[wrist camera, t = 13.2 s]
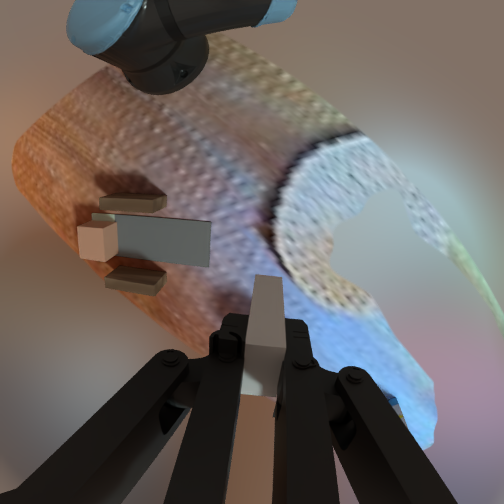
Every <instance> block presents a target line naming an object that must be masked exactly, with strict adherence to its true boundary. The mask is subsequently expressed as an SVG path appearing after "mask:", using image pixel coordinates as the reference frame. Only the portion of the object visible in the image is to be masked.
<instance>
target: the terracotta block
mask: <svg viewBox="0 0 504 504" xmlns="http://www.w3.org/2000/svg"><path fill="white" fill-rule="evenodd" d="M77 231H78V243H79V253H80V258H83V259H89V260H96V261H102V262H106V261H107V260H109V259H110V258H112V257H113V256H115V255H116V254H118V253H119V252H118V234H117V222H109V221H95V220H92V221H89V222H87V223H84V224H82V225H79V226H77Z"/></svg>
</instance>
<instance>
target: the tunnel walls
mask: <svg viewBox="0 0 504 504" xmlns="http://www.w3.org/2000/svg"><path fill="white" fill-rule="evenodd" d="M166 203H167V195H154V194H132V193H115V194H111V195H108V196H104V197H100V198H99V209H100V210H112V211H128V212H142V213H154V212H156V211H158V210H160V209H163V208H165V207H166ZM104 279H105V287H106V288H110V289H116V290H121V291H126V292H132V293H137V294H143V295H149V296H156V294H157V293H158V292H159V291H160V290H161V288H162V287H163V286H164V285H165V284H166V282H167V276H166V272H162V271H154V270H147V269H140V268H133V267H126V266H118V267H117V268H116V269H115V270H113V271H112V272H111V273H109V274H108V275H107V276H105V277H104Z"/></svg>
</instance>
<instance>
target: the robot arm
mask: <svg viewBox="0 0 504 504" xmlns="http://www.w3.org/2000/svg"><path fill="white" fill-rule="evenodd" d="M296 4H297V0H75V2H74V4H73V6H72V8H71V10H70V12H69V15H68V19H67V25H66V31H67V36H68V38H69V40H70V41H71V43H72V44H73V45H75V46H76V47H78V48H80V49H82V50H83V52H84V53H86V54H88V55H92V56H94V57H96V58H99V59H101V60H103V61H105V62H107V63H110V64H112V65H114V66H116V67H118V68H120V69H122V71H123V73H124V75H125V77H126V79H127V80H128V82H129V83H130V84H131V85H132V86H133V87H135V88H136V89H138V90H140V91H142V92H144V93H147V94H151V95H164V94H169V93H173V92H175V91H178V90H180V89H182V88H184V87H185V86H187V85H188V84H190V83H191V82H192V81H193V80H194V79H195V78H196V77H197V76H198V75H199V74H200V72H201V71H202V69H203V68H204V66H205V64H206V62H207V59H208V54H209V44H208V40H207V38H206V36H205V35H206V34H211V33H215V32H220V31H225V30H230V29H235V28H242V27H248V26H251V27H258V26H261V25H263V24H270V23H277V22H282V21H284V20H286V19H287V18H289V17H290V16H291V14H292V13H293V12H294V10H295V7H296ZM240 394H249V395H258V396H269V397H276V394H277V401H276V406H275V409H274V413H273V417H275V437H274V469H273V493H272V504H340V502H339V493H338V485H337V476H336V468H335V461H334V453H333V448H334V450H335V452H336V454H337V456H338V458H339V461H340V463H341V465H342V467H343V469H344V471H345V474H346V476H347V478H348V480H349V482H350V484H351V487H352V489H353V491H354V493H355V495H356V497H357V500H358V502H359V504H458V503H457V502H456V500H455V499H454V497H453V495H452V494H451V492H450V491H449V489H448V488H447V486H446V485H445V483H444V482H443V480H442V479H441V477H440V476H439V474H438V473H437V471H436V470H435V468H434V467H433V465H432V464H431V462H430V461H429V459H428V458H427V457H426V455H425V453H424V452H423V450H422V449H421V447H420V446H419V444H418V443H417V442H416V440H415V439H414V437H413V436H412V434H411V433H410V431H409V430H408V428H407V427H406V426H405V424H404V423H403V421H402V420H401V418H400V417H399V416H398V414H397V413H396V411H395V410H394V408H393V407H392V406H391V404H390V403H389V401H388V400H387V398H386V397H385V396H384V394H383V393H382V391H381V390H380V389H379V387H378V386H377V384H376V383H375V382H374V380H373V379H372V377H371V376H370V375H369V374H368V373H367V372H366V371H365V370H363V369H361V368H359V367H355V366H347V367H344V368H342V369H341V370H340V371H339V373H335V372H331V371H328V370H325V369H323V368H321V367H320V366H319V363H318V361H317V360H316V359H315V358H314V357H313V354H312V348H311V342H310V337H309V331H308V326H307V325H306V323H305V322H304V321H303V320H299V319H288V318H285V316H284V300H283V285H282V277H276V276H266V275H257V274H256V275H255V282H254V289H253V295H252V302H251V308H250V314H249V315H242V314H234V313H229V314H228V315H226V316H225V317H224V318H223V321H222V325H221V328H220V330H217V331H215V332H213V333H212V334H211V335H210V337H209V355H208V356H206V357H203V358H198V359H188V357H187V356H186V355H185V353H183V352H181V351H178V350H174V349H171V350H170V349H169V350H163V351H160V352H159V353H157V354H156V355H155V356H154V357H153V358H152V359H151V360H150V361H149V362H148V363H146V364H145V366H144V367H142V368H141V369H140V370H139V371H138V372H137V373H136V374H135V375H134V376H133V377H132V378H131V379H130V380H129V381H128V382H127V383H126V384H125V385H124V386H123V387H122V388H121V389H120V390H119V391H118V392H117V393H116V394H115V395H114V396H113V397H112V398H111V399H110V400H108V401H107V403H105V404H104V405H103V406H102V407H101V408H100V409H99V410H98V411H97V412H96V413H95V414H94V415H93V416H92V417H91V418H90V419H89V420H88V421H87V422H86V423H85V424H84V425H83V426H82V427H81V428H80V429H78V430H77V431H76V432H75V433H74V434H73V435H72V436H71V437H70V438H69V439H68V440H67V441H66V442H65V443H64V444H63V445H62V446H61V447H60V448H59V449H58V450H57V451H56V452H55V453H54V454H53V455H51V456H50V457H49V458H48V459H47V460H46V461H45V462H44V463H43V464H42V465H41V466H40V467H39V468H38V469H37V470H36V471H35V472H34V473H33V474H32V475H30V476H29V477H28V478H27V479H26V480H25V481H24V482H23V483H22V484H21V485H20V486H19V487H18V488H16V489H13V490H11V491H7V492H4V493H1V494H0V504H121V503H122V502H123V500H124V499H125V498H126V496H127V495H128V494H129V493H130V491H131V490H132V489H133V487H134V486H135V485H136V484H137V482H138V481H139V480H140V478H141V477H142V475H143V474H144V473H145V472H146V470H147V469H148V468H149V466H150V465H151V464H152V462H153V461H154V460H155V458H156V457H157V456H158V454H159V453H160V451H161V450H162V449H163V447H164V446H165V445H166V443H167V442H168V440H169V439H170V437H171V436H172V435H173V434H174V432H175V431H176V429H177V428H178V426H179V425H180V424H181V422H182V421H183V419H184V418H185V417H186V415H187V414H188V412H189V411H190V409H191V408H192V411H191V414H190V418H189V421H188V424H187V427H186V431H185V434H184V437H183V440H182V443H181V447H180V450H179V454H178V457H177V460H176V463H175V467H174V470H173V473H172V477H171V480H170V484H169V487H168V490H167V494H166V497H165V500H164V504H225V499H226V492H227V485H228V479H229V472H230V466H231V459H232V452H233V445H234V439H235V432H236V425H237V418H238V410H239V404H240ZM332 445H333V446H332Z"/></svg>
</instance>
